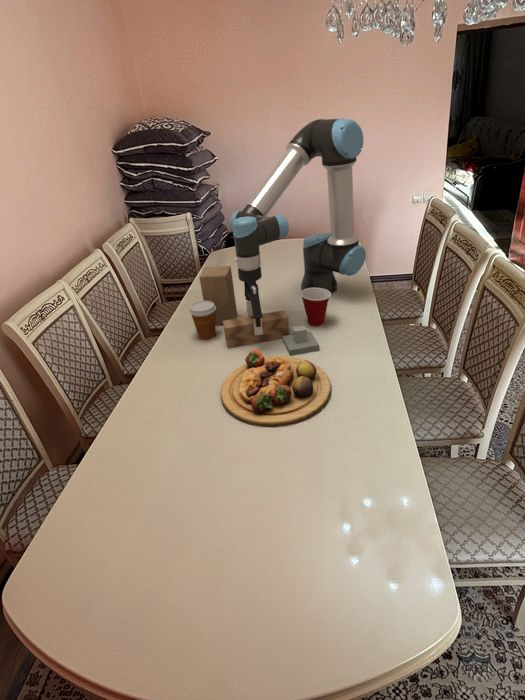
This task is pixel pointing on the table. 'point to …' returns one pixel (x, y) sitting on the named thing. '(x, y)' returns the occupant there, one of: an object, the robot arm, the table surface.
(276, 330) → the walnut beam
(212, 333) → the disposable coffee cup
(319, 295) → the plastic cup
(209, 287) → the wooden block
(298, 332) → the pedestal
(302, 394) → the wooden plate with food
